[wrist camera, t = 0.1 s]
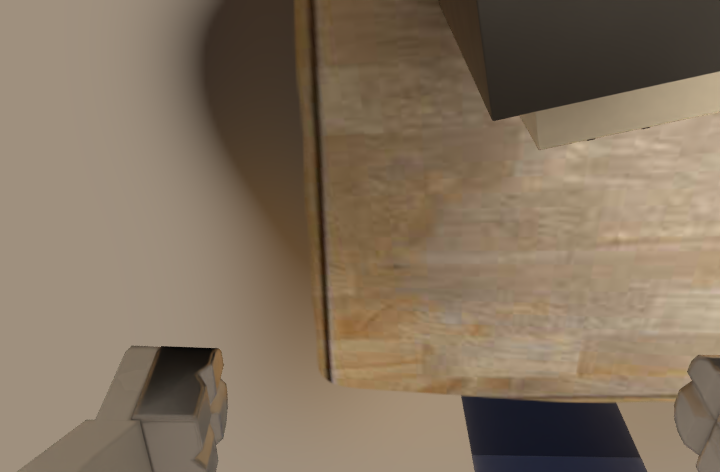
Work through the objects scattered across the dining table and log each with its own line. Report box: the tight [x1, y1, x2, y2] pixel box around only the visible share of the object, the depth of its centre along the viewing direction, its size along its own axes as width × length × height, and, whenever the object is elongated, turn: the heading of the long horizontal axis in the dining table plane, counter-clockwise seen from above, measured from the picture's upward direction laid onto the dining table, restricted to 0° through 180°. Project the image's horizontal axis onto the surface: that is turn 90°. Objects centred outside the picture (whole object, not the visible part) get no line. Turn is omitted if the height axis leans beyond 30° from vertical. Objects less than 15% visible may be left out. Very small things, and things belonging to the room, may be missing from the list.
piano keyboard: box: [520, 71, 720, 150], centre depth 25 cm, size 2×12×5 cm, turn 103°
